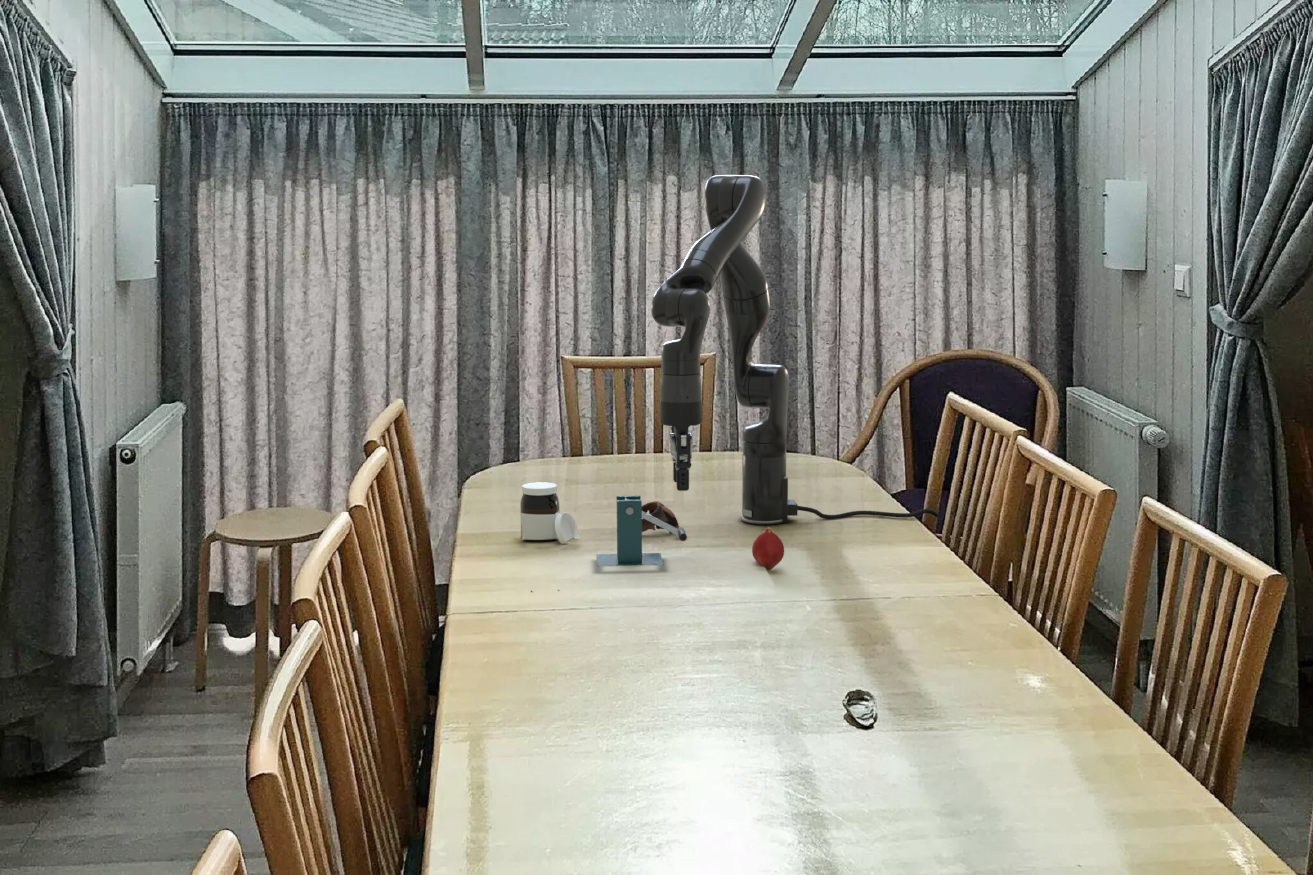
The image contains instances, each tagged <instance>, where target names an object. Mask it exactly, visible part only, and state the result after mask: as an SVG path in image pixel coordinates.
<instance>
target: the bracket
mask: <svg viewBox="0 0 1313 875" xmlns="http://www.w3.org/2000/svg"><path fill="white" fill-rule="evenodd" d="M625 498H627V499H629V500H624V499H625ZM642 501H643V500H642V499H641V495H640V494H639V495H638V494H636V495H616V553H601V554H600V553H597V554H596V566H597V567H628V566H629V567H630V566H631V567H633V566H634V567H637V566H664V560H663V558H662V557H663V556H662V553H661V552H648V553H647V552H646V553H645V552H643V532H642V519H643V518H642V506H643V505H642V503H643V502H642Z"/></svg>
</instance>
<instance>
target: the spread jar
mask: <svg viewBox="0 0 1313 875" xmlns="http://www.w3.org/2000/svg"><path fill="white" fill-rule="evenodd" d="M521 492H522V493H521V494H522V495H521V499H520V510H519V511H520V539H521V540H522V541H523V542H524V543H525V542H526V543H552V542H557V541H559V543H560V544H561V545H569V544H570V543H569V542H568V541H570V540H571V539H575V540H576V539H577V540H579V528H578V525H577V523H576V520H575V518H574V517H573V516H572V515H571V513H569V512H567V511H564V512H561V513H560V499H559V496H558V494H557V493H558V484H556V483H554V482H545V481H544V482H543V481H538V482H528V483H524V484H522V485H521Z"/></svg>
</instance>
